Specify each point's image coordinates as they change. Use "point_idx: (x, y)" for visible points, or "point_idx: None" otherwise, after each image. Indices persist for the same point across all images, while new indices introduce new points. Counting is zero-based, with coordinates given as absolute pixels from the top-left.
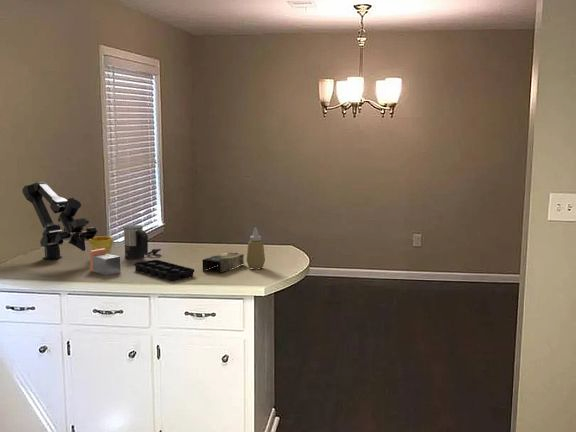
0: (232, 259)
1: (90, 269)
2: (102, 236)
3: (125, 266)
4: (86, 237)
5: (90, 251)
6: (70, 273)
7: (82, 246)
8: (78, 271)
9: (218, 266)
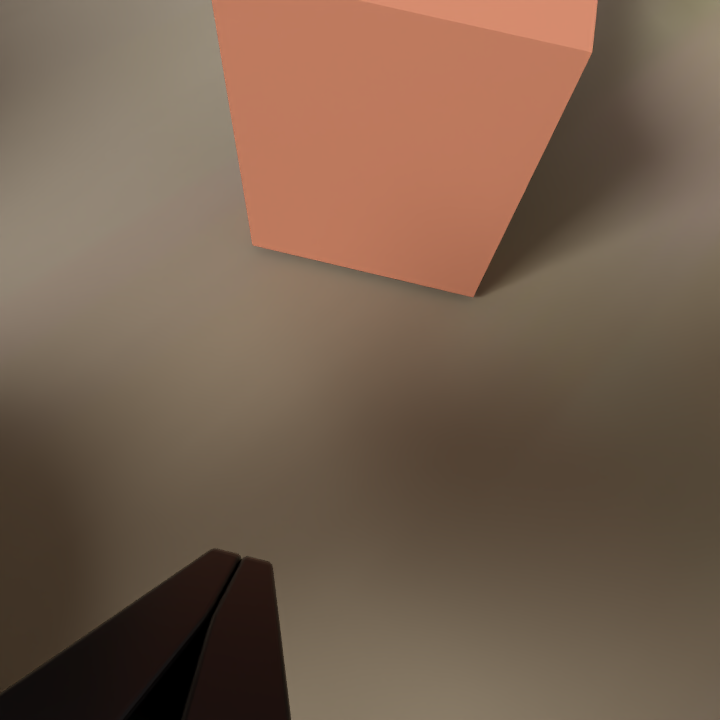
0: None
1: (476, 287)
2: None
3: (47, 109)
4: None
5: (591, 33)
6: (715, 457)
7: (252, 630)
8: (568, 444)
9: None
